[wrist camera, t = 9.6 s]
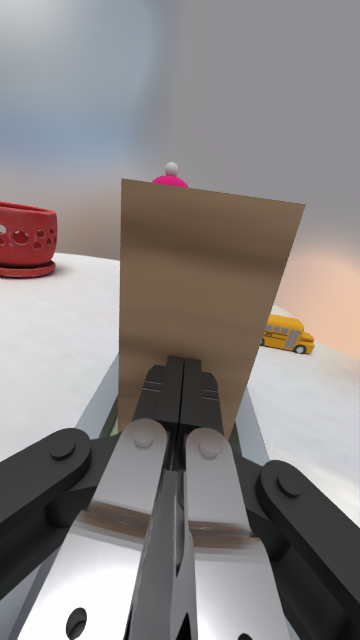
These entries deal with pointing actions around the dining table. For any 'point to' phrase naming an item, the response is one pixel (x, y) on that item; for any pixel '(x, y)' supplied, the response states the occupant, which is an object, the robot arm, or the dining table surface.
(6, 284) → the dining table surface
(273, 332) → the toy bus
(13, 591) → the trap channel
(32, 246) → the plant pot
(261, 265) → the walnut block
